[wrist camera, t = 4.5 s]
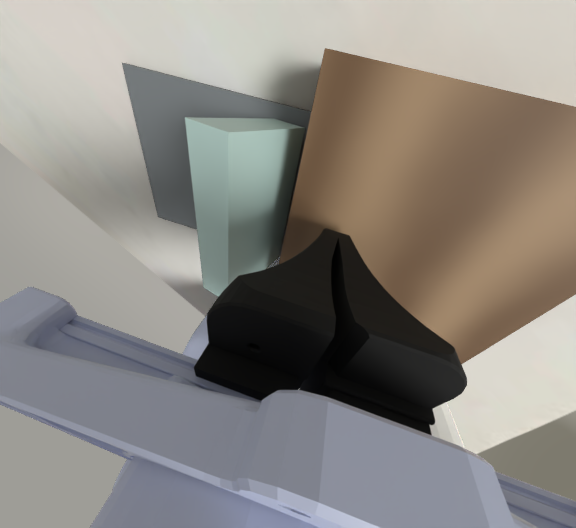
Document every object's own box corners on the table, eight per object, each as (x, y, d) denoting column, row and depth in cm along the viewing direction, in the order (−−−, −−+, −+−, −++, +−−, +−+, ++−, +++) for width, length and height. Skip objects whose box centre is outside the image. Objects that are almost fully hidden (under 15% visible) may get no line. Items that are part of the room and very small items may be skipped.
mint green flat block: (279, 256, 17) (258, 246, 18) (305, 128, 11) (273, 118, 12) (228, 303, 13) (203, 287, 13) (228, 132, 7) (184, 117, 7)
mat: (160, 215, 19) (158, 217, 18) (126, 63, 12) (121, 62, 12) (285, 255, 18) (284, 257, 18) (318, 113, 11) (318, 113, 11)
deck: (283, 273, 19) (269, 305, 16) (334, 64, 10) (325, 48, 7) (437, 323, 18) (454, 368, 15) (646, 139, 9) (796, 159, 6)
